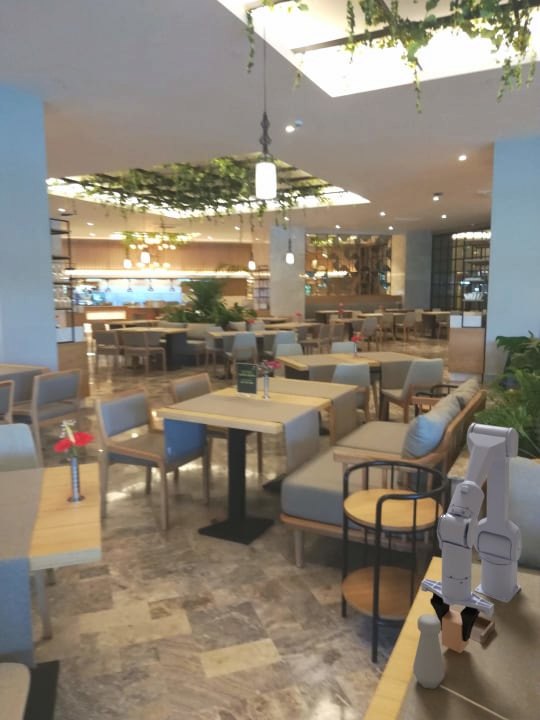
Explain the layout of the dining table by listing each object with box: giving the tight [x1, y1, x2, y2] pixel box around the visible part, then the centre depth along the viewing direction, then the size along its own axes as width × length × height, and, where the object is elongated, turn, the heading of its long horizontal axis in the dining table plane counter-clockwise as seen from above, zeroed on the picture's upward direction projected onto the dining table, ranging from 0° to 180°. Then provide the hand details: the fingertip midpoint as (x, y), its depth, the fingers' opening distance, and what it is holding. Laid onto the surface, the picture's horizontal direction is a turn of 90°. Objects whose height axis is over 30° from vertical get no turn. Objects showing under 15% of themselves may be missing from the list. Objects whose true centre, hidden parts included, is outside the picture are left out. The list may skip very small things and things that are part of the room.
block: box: [441, 608, 470, 654], centre depth 109 cm, size 4×4×6 cm
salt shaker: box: [412, 613, 446, 690], centre depth 101 cm, size 6×6×13 cm
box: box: [469, 614, 496, 644], centre depth 116 cm, size 6×7×2 cm
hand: (455, 634), depth 110 cm, fingers closed on block, 4 cm apart
